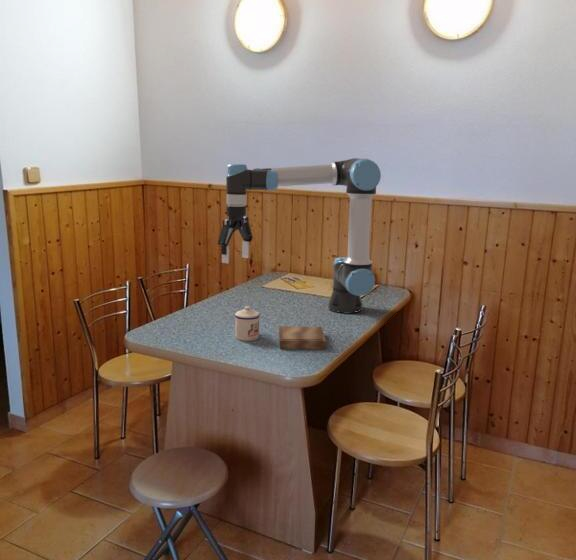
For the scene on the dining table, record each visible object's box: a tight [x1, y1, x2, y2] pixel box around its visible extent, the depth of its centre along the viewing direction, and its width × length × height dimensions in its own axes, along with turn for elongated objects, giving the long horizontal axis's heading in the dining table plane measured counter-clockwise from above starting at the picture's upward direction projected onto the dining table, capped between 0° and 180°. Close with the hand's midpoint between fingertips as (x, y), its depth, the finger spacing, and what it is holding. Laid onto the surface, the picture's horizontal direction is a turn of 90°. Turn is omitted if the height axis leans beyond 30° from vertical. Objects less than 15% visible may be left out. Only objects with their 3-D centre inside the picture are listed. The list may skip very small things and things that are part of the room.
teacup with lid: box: [234, 305, 261, 342], centre depth 201 cm, size 12×9×12 cm
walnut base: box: [278, 325, 327, 350], centre depth 198 cm, size 16×16×3 cm
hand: (235, 260), depth 214 cm, fingers open, 13 cm apart
